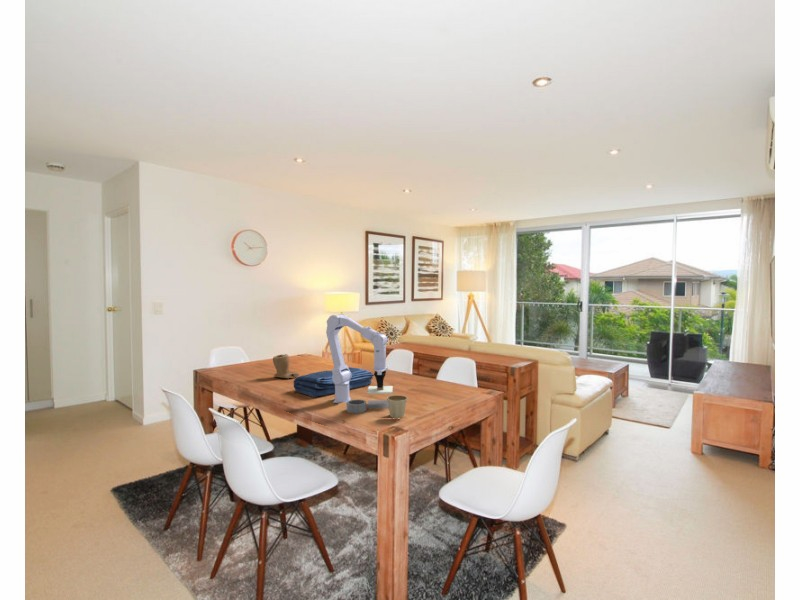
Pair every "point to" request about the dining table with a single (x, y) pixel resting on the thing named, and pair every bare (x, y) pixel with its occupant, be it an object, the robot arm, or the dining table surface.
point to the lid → (380, 390)
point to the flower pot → (397, 405)
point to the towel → (329, 382)
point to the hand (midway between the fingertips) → (380, 386)
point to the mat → (378, 404)
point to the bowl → (356, 406)
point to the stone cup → (283, 367)
